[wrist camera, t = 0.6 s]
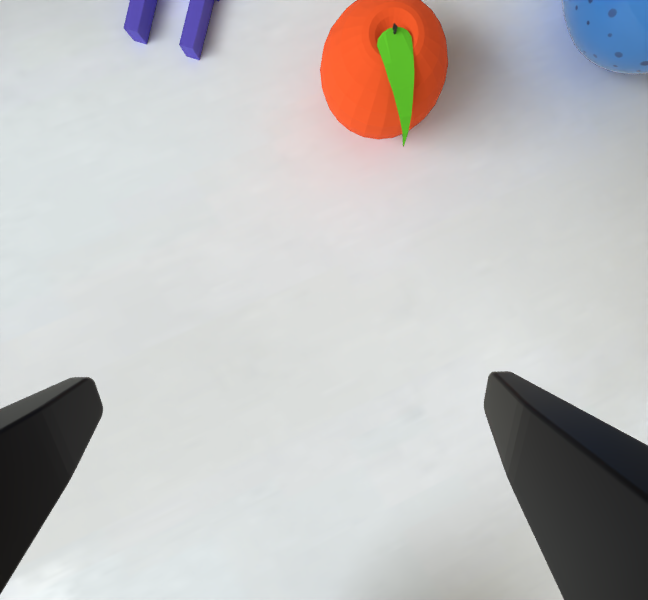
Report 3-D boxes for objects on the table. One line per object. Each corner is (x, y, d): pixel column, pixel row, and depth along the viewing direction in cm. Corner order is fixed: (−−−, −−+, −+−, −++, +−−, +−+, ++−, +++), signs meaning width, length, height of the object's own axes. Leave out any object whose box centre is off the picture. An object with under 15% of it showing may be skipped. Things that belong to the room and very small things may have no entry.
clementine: (440, 156, 24) (489, 109, 17) (338, 182, 24) (344, 145, 17) (414, 32, 24) (453, -71, 16) (309, 59, 24) (303, -32, 17)
